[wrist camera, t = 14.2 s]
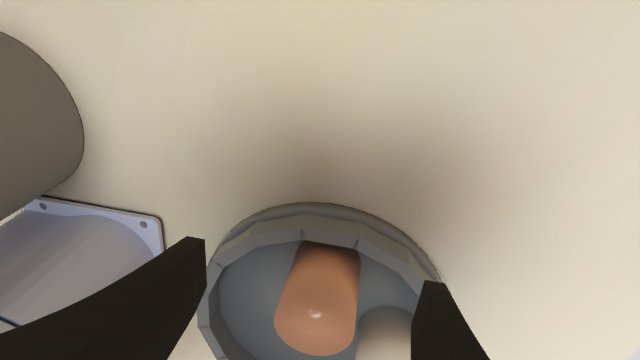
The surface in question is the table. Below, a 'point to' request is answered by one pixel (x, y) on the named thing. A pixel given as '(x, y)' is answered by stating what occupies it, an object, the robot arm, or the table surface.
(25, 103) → the coffee mug
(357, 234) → the groove tray
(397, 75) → the table surface
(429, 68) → the table surface
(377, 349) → the cream bead
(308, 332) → the terracotta bead
